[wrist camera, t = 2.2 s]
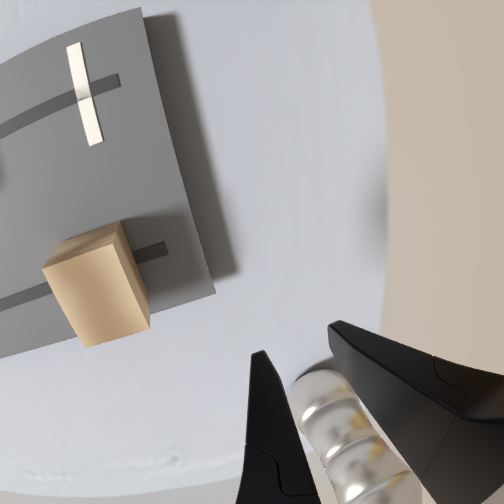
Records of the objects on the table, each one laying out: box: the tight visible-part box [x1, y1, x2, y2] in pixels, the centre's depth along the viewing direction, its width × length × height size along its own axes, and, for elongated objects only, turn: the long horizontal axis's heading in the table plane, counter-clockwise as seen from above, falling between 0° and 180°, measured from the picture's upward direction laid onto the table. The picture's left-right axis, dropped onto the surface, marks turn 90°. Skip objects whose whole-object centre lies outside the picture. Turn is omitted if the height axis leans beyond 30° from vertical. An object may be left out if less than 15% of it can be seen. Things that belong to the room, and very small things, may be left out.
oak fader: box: [42, 221, 150, 348], centre depth 16 cm, size 4×5×4 cm
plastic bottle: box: [287, 369, 422, 504], centre depth 21 cm, size 6×7×20 cm
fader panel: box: [0, 7, 216, 358], centre depth 16 cm, size 22×18×2 cm
